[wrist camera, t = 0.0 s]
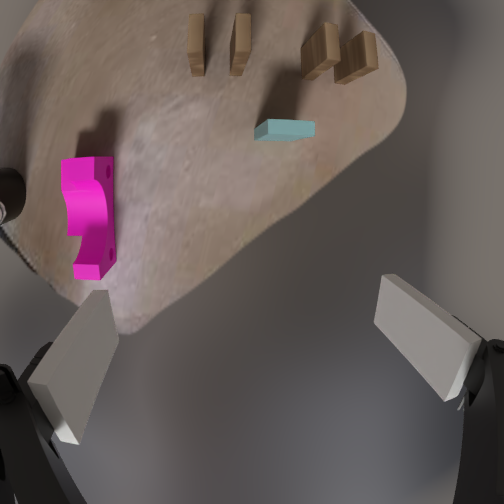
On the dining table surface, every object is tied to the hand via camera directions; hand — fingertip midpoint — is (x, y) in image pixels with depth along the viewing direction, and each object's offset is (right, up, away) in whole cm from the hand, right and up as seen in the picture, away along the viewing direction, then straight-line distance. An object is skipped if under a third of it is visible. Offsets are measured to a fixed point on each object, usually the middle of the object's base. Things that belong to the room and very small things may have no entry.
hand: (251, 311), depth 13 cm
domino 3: (+3, +18, +25) cm, 31 cm away
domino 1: (-7, +29, +21) cm, 36 cm away
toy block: (-22, +9, +25) cm, 35 cm away
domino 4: (+8, +29, +22) cm, 38 cm away
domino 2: (-2, +29, +21) cm, 36 cm away
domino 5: (+13, +29, +23) cm, 39 cm away
